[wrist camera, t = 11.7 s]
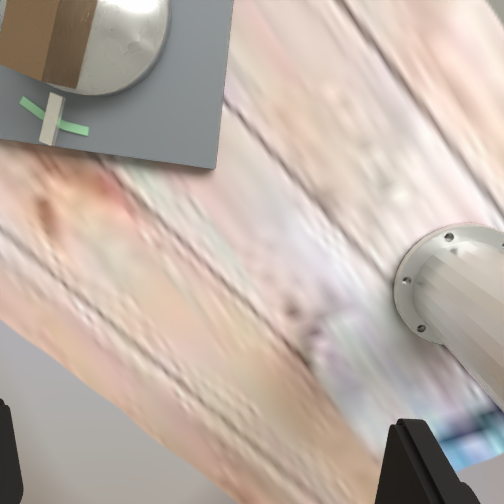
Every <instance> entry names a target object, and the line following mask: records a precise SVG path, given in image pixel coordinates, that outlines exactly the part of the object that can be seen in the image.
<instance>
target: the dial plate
mask: <svg viewBox="0 0 504 504" xmlns="http://www.w3.org/2000/svg"><path fill="white" fill-rule="evenodd" d="M233 2H234V0H171V26H170V32H169V37H168V41H167V44H166V46H165V49H164V52H163V54H162V56H161V58H160V60H159V61H158V63H157V64H156V66H155V67H154V69H153V70H152V71H151V72H150V73H149V74H148V75H147V77H146V78H145V79H143V80H142V81H141V82H140V83H138V84H137V85H135V86H134V87H132V88H130V89H128V90H126V91H124V92H121V93H118V94H114V95H110V96H99V97H97V96H86V95H81V94H76V93H71V92H66V91H63V90H60V89H58V88H55V87H53V86H51V85H49V84H47V83H45V82H41V81H39V80H37V79H34V78H32V77H29V76H27V75H25V74H22V73H20V72H17V71H15V70H13V69H10V68H8V67H5V66H3V65H1V64H0V139H5V140H12V141H19V142H26V143H33V144H40V145H47V146H50V145H48V144H45V143H43V142H40V141H39V139H40V134H41V130H42V126H43V121H44V117H45V113H46V108H47V104H48V99H49V95H50V92H53V93H56V94H58V95H61V96H63V97H65V98H66V101H65V105H64V109H63V113H62V117H61V121H60V126H59V130H58V134H57V138H56V142H55V146H54V147H61V148H69V149H76V150H83V151H90V152H97V153H104V154H111V155H118V156H125V157H132V158H139V159H146V160H153V161H161V162H168V163H175V164H182V165H189V166H196V167H203V168H210V169H215V168H216V161H217V151H218V142H219V133H220V123H221V114H222V104H223V95H224V86H225V76H226V67H227V58H228V48H229V39H230V30H231V20H232V11H233Z"/></svg>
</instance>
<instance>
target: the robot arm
mask: <svg viewBox="0 0 504 504" xmlns="http://www.w3.org/2000/svg"><path fill="white" fill-rule="evenodd" d="M446 234H447V236H446V237H445V235H446ZM444 237H445V238H444ZM405 277H406V278H405ZM403 278H405V279H404V280H403ZM393 291H394V301H395V304H396V308H397V311H398V313H399V314H400V316H401V318H402V319H403V321H404V322H405V323H406V325H407V326H408V327H409V328H410V329H411V330H412V331H413V332H414V333H415V334H417V335H418V336H420V337H422V338H423V339H425V340H427V341H430V342H433V343H437V344H443V345H445V346H446V347H447V348H448V349H449V350H450V351H451V353H452V354H453V355H454V356H455V357H456V358H457V359H458V361H459V362H460V363H461V364H462V365H463V366H464V367H465V369H466V370H467V371H468V372H469V373H470V374H471V376H472V377H473V378H474V379H475V380H476V381H477V382H478V384H479V385H480V386H481V387H482V388H483V389H484V390H485V392H486V393H487V394H488V395H489V396H490V397H491V398H492V400H493V401H494V402H495V403H496V404H497V405H498V407H499V408H500V409H501V410H502V411H503V412H504V233H503V232H501V231H499V230H497V229H495V228H492V227H489V226H486V225H483V224H476V223H459V224H454V225H450V226H446V227H443V228H441V229H438V230H436V231H434V232H432V233H430V234H429V235H427V236H426V237H424V238H422V239H421V240H420V241H419V242H418V243H417V244H416V245H414V246H413V247H412V248H411V250H410V251H409V252H408V253H407V255H406V256H405V257H404V259H403V261H402V262H401V264H400V266H399V268H398V271H397V274H396V277H395V282H394V290H393ZM22 496H23V482H22V477H21V470H20V465H19V459H18V453H17V447H16V441H15V435H14V429H13V424H12V417H11V412H10V408H9V406H8V405H5V404H4V401H3V400H2V399H0V504H19V503H20V502H21V499H22ZM375 504H480V502H479V500H478V499H477V497H476V495H475V494H474V492H473V491H472V489H471V488H470V487H469V486H468V485H467V484H466V483H464V482H460V480H459V478H458V477H457V475H456V473H455V472H454V470H453V468H452V466H451V465H450V463H449V461H448V459H447V458H446V456H445V454H444V452H443V451H442V449H441V447H440V446H439V444H438V442H437V440H436V439H435V437H434V435H433V433H432V432H431V430H430V428H429V426H428V425H427V423H426V422H425V421H424V420H420V419H398V421H397V423H396V425H393V424H392V425H391V426H390V428H389V433H388V438H387V443H386V448H385V453H384V458H383V463H382V469H381V474H380V479H379V484H378V489H377V494H376V499H375Z"/></svg>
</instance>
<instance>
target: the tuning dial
mask: <svg viewBox="0 0 504 504" xmlns="http://www.w3.org/2000/svg"><path fill="white" fill-rule="evenodd" d="M170 26H171V0H0V64H1V65H3V66H5V67H8V68H10V69H13V70H15V71H17V72H20V73H22V74H25V75H27V76H29V77H32V78H34V79H37V80H39V81H41V82H45V83H47V84H49V85H51V86H53V87H55V88H58V89H60V90H63V91H66V92H71V93H76V94H81V95H86V96H97V97H99V96H110V95H114V94H118V93H121V92H124V91H126V90H128V89H130V88H132V87H134V86H135V85H137V84H138V83H140V82H141V81H142V80H143V79H145V78H146V77H147V75H148V74H149V73H150V72H151V71H152V70H153V69H154V67H155V66H156V64H157V63H158V61H159V60H160V58H161V56H162V54H163V52H164V49H165V46H166V44H167V41H168V37H169V32H170ZM65 101H66V98H65V97H63V96H61V95H58V94H56V93H53V92H50V95H49V99H48V104H47V108H46V113H45V117H44V121H43V126H42V130H41V134H40V139H39V141H40V142H43V143H45V144H48V145H50V146H55V142H56V138H57V134H58V130H59V126H60V121H61V117H62V113H63V109H64V105H65Z"/></svg>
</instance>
